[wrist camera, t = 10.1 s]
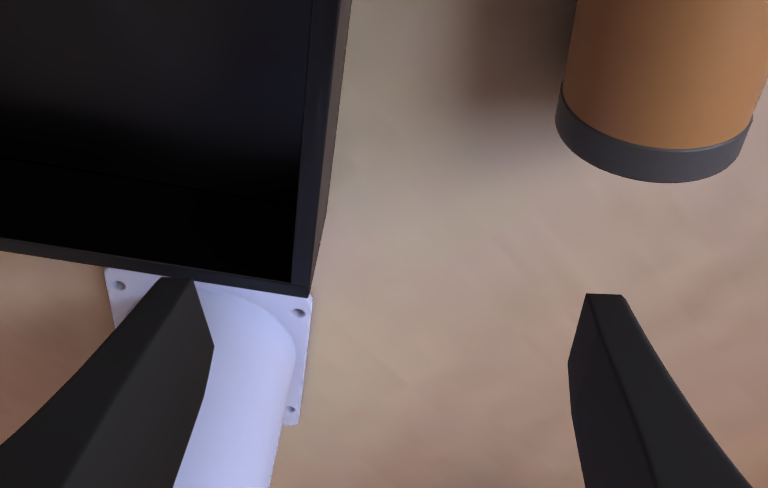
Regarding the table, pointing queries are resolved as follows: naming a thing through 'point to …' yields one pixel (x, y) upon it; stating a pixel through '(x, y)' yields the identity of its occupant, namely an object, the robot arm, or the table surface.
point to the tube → (663, 85)
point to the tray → (171, 135)
